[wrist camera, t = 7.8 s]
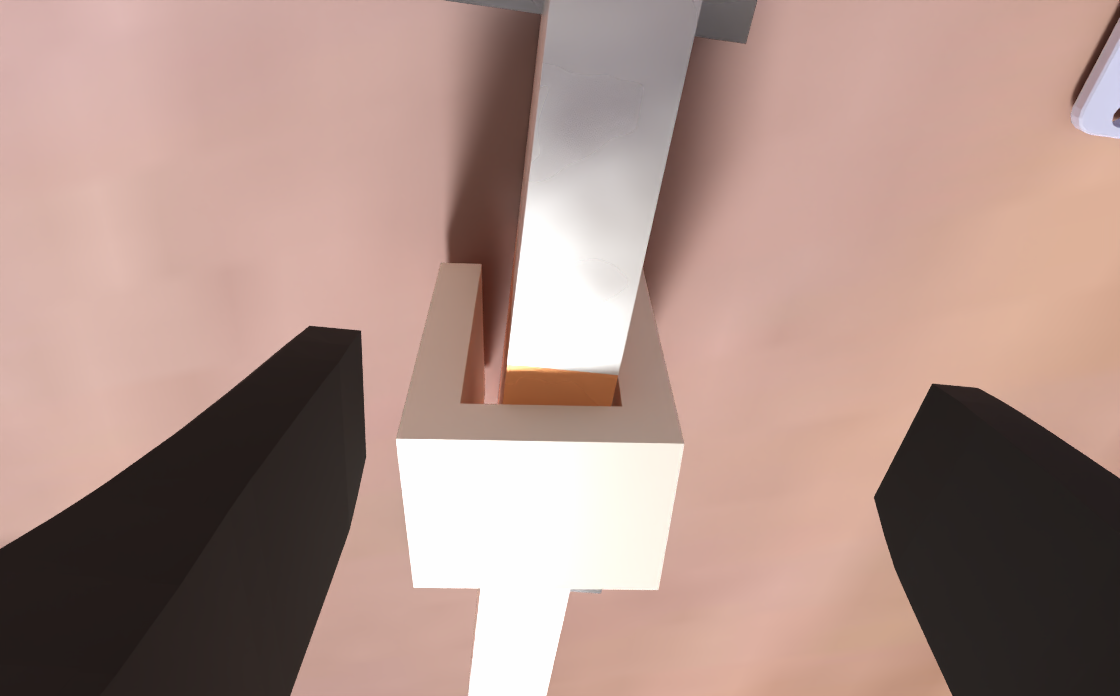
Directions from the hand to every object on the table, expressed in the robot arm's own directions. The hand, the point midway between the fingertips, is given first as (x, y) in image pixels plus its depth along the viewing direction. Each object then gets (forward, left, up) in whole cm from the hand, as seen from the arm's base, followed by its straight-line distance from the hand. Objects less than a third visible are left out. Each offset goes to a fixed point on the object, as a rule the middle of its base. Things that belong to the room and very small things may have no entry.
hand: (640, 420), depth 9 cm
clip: (+1, +5, -9) cm, 10 cm away
